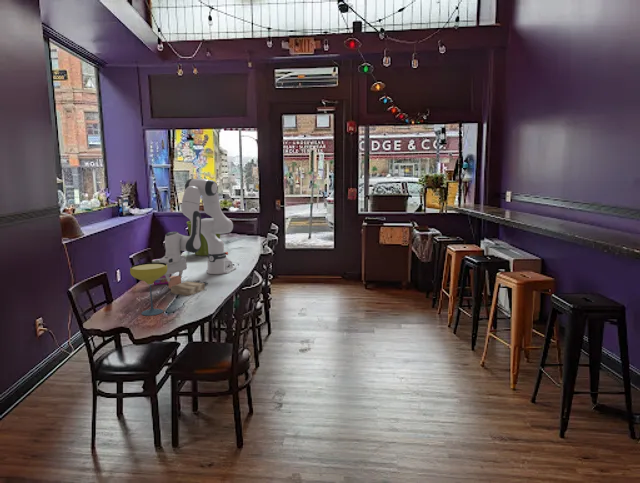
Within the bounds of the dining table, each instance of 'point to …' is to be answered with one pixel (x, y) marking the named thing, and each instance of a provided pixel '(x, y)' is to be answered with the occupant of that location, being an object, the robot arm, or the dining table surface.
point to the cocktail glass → (149, 279)
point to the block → (174, 281)
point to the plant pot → (204, 245)
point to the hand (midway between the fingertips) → (174, 279)
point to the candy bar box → (162, 279)
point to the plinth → (188, 288)
